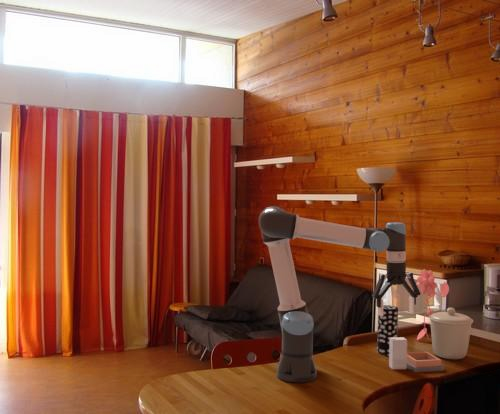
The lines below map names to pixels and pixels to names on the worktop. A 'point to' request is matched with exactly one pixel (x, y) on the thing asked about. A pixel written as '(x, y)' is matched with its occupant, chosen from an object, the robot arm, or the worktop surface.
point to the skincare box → (398, 353)
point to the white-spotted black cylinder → (387, 328)
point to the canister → (450, 334)
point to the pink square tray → (423, 362)
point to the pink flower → (429, 293)
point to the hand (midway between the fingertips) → (396, 314)
